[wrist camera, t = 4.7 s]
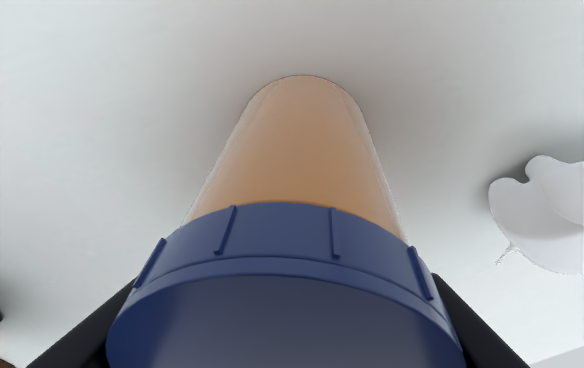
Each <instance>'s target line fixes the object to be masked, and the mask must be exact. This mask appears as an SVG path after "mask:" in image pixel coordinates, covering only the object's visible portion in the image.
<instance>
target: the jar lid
mask: <svg viewBox="0 0 584 368" xmlns="http://www.w3.org/2000/svg"><path fill="white" fill-rule="evenodd" d="M132 287H134V288H133V289H132V291H131V293H130V294H129V296H128V298H127V299H126V301H125V303H124V305H123V306H122V308H121V310H120V311H119V313H118V315H117V316H116V318H115V320H114V322H113V323H112V325H111V327H110V329H109V331H108V335H107V339H106V344H105V346H106V358H107V361H108V363H109V366H110V368H467V366H466V361H465V359H464V356H463V350H462V348H461V345H460V343H459V340H458V338H457V335H456V332H455V330H454V327H453V325H452V322H451V320H450V317H449V315H448V312H447V310H446V307H445V305H444V302H443V300H442V299H441V298H440V295H439V293H438V290H437V288H436V285H435V283H434V280H433V278H432V275H431V273H430V271H429V270H428V268H427V267H426V265H425V263H424V262H423V260H422V259H421V258H420V257H419V256H418V254H417V251H416V248H415V247H414V246H411V247H409V246H408V245H407V244H406V243H404V242H403V241H402V240H401V239H399V238H398V237H397V236H395V235H394V234H392V233H391V232H389V231H387V230H386V229H384V228H382V227H380V226H379V225H377V224H375V223H373V222H370V221H368V220H366V219H363V218H361V217H358V216H356V215H353V214H350V213H347V212H343V211H340V210H336V208H334V207H331V208H328V207H323V206H317V205H312V204H304V203H291V202H262V203H252V204H245V205H238V206H235V204H234V205H230V207H229V208H225V209H221V210H217V211H214V212H211V213H209V214H206V215H204V216H201V217H199V218H196V219H194V220H192V221H191V222H189V223H187V224H185V225H184V226H182V227H180V228H179V229H177V230H176V231H175V232H173V233H172V234H171V235H170V236H169V237H167V238H166V239H163V238H161V239H160V240H159V242H158V244H157V245H156V247H155V249H154V250H153V252H152V254H151V255H150V257H149V259H148V260H147V262H146V264H145V265H144V267H143V269H142V270H141V272H140V274H139V275H138V277H137V279H136V281H135V282H134V284H133V286H132Z"/></svg>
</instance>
